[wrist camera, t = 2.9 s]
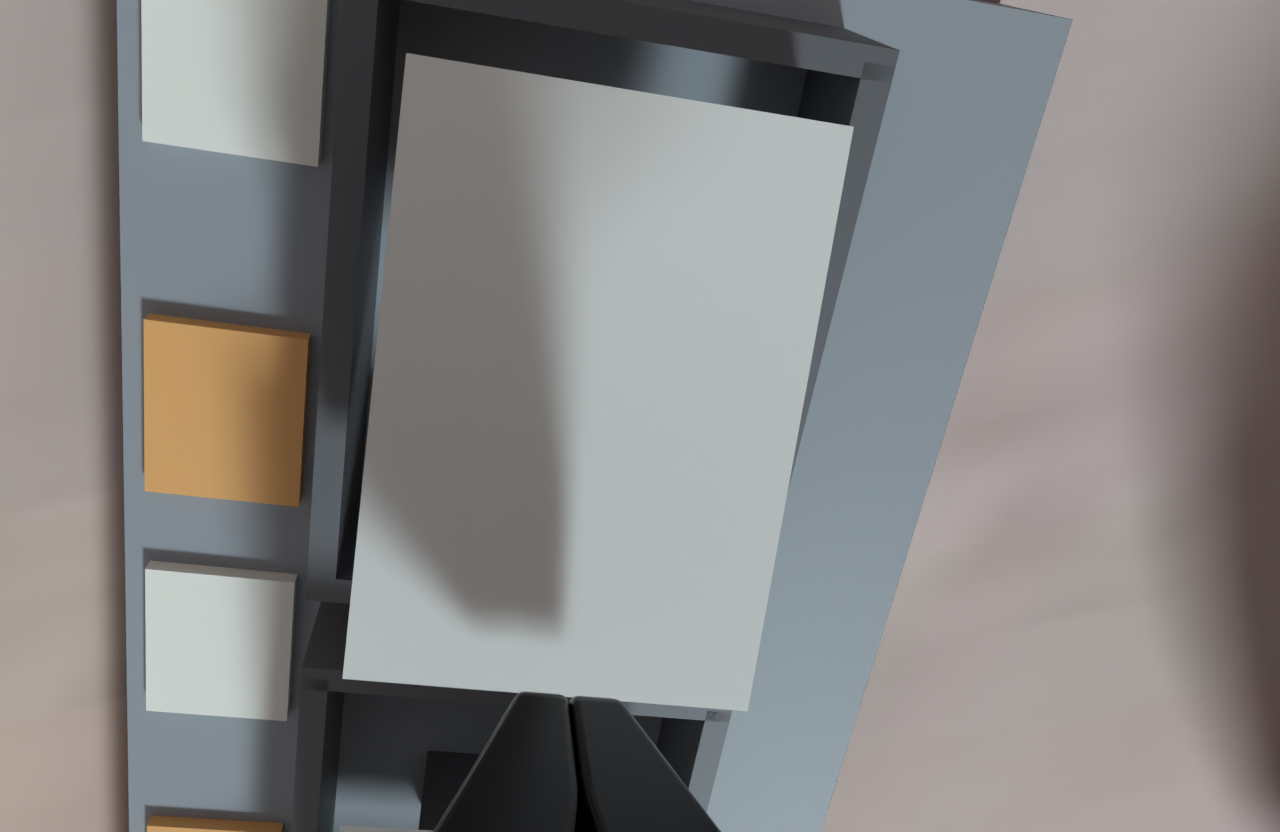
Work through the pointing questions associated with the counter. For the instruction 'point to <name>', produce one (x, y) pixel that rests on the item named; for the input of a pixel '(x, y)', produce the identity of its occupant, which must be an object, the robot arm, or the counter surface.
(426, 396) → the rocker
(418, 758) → the switch panel
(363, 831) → the middle rocker
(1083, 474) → the counter surface
